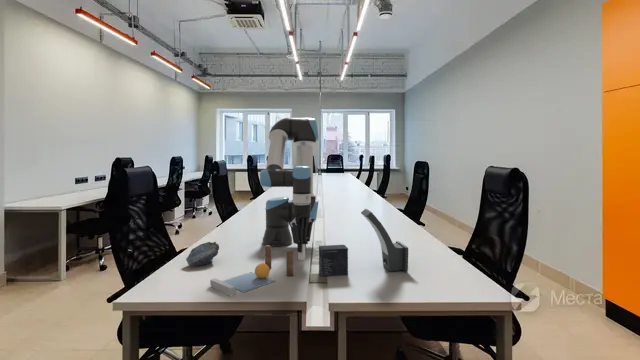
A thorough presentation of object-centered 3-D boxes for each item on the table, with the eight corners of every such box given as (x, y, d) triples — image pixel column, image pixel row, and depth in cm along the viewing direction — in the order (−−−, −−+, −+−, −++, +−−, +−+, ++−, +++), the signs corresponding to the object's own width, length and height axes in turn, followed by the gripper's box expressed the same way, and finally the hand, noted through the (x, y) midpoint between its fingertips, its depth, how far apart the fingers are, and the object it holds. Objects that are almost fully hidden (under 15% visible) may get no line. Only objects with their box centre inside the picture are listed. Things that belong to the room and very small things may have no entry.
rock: (226, 259, 158) (210, 251, 163) (223, 244, 154) (207, 237, 159) (197, 281, 146) (181, 271, 151) (193, 265, 142) (177, 256, 147)
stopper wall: (210, 286, 127) (210, 279, 126) (215, 284, 128) (215, 278, 128) (230, 295, 119) (230, 288, 118) (235, 294, 120) (235, 286, 120)
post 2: (285, 275, 138) (284, 252, 137) (289, 273, 140) (289, 250, 139) (289, 276, 136) (289, 253, 136) (294, 275, 138) (294, 252, 138)
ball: (264, 265, 139) (258, 278, 137) (255, 259, 136) (249, 273, 133) (274, 268, 136) (268, 282, 134) (266, 262, 132) (259, 277, 130)
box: (344, 269, 145) (344, 244, 144) (348, 275, 139) (348, 248, 138) (318, 271, 143) (318, 245, 142) (321, 276, 137) (321, 249, 136)
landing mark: (220, 282, 131) (220, 281, 131) (251, 272, 141) (251, 272, 141) (243, 292, 121) (243, 292, 121) (275, 281, 132) (275, 280, 132)
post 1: (263, 268, 146) (263, 246, 146) (268, 266, 148) (268, 244, 148) (267, 269, 145) (267, 247, 144) (272, 267, 147) (272, 246, 146)
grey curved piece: (358, 266, 150) (359, 207, 148) (398, 263, 152) (399, 206, 150) (366, 275, 139) (367, 212, 137) (408, 272, 142) (410, 211, 140)
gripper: (297, 206, 143) (297, 264, 145) (319, 202, 152) (318, 257, 154) (284, 204, 148) (284, 261, 150) (306, 201, 157) (306, 254, 159)
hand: (301, 259), depth 152 cm, fingers closed
